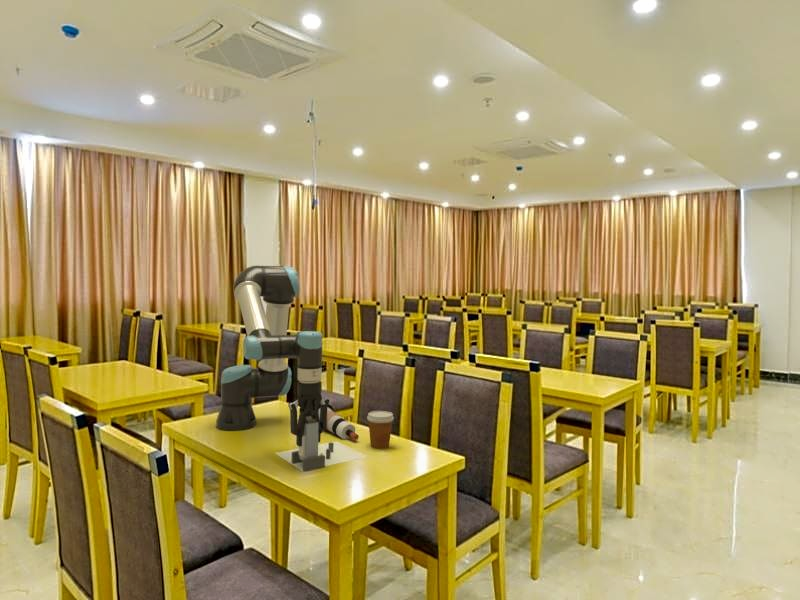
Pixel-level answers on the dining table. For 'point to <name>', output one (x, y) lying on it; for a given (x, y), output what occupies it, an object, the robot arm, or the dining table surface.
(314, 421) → the block
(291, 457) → the routing panel
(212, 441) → the dining table surface
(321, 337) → the robot arm
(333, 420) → the cable
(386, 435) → the disposable coffee cup
